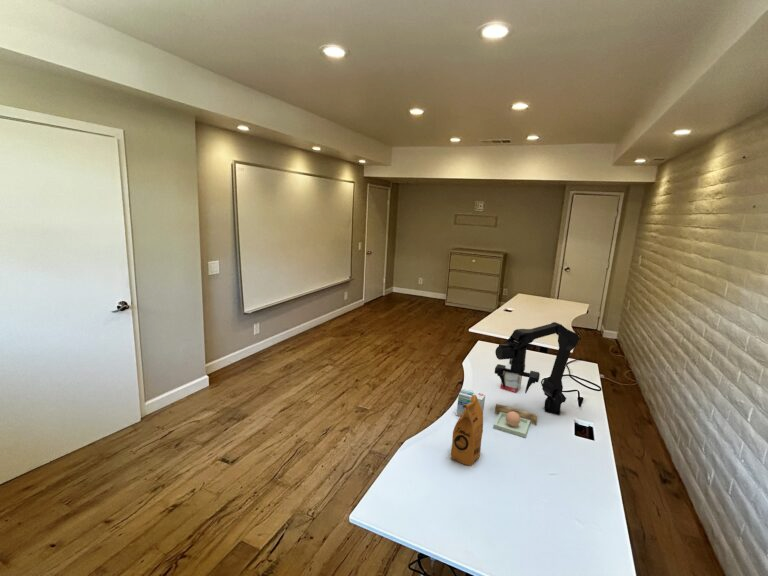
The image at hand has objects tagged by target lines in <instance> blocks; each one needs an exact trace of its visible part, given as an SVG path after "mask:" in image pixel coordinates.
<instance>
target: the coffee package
mask: <svg viewBox="0 0 768 576" xmlns="http://www.w3.org/2000/svg"><path fill="white" fill-rule="evenodd" d="M463 408H466V409H465V410H464V411H463V413H462V415H461V417H460V416H459V418H458V420H457V422H456V423H455V425H454V429H453V431H452V443H451V450H450V457H451V459H452V460H453V461H457V462H458V463H462V464H463V465H465V466H468V467H469V466H470V467H471V466H472V465H473V464H474V463H475V461H476V460H478V459H479V457H480V454H481V448H482V440H483V439H482V438H483V437H482V436H483V433H484V411H483V412H482V409H481V406H480V404H479V401H478V399H477V396H476V395H473V396H472V397H471V403H470V404H466V405H464V406H463Z"/></svg>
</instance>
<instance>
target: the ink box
mask: <svg viewBox="0 0 768 576" xmlns="http://www.w3.org/2000/svg"><path fill="white" fill-rule="evenodd" d="M505 366H506V368H507V369H511V364H509V363H507V364H506V365H505ZM505 378H506V385H505V389H504V387H503V384H502V381H501V380H500V385H499V386H500V387H499V389H501V390H504V391H507V392H511V393H514V394H516V393H517V392H518V391H519V390H520V389H521V387H522V381H523V376H520V375H515V374H510V373H506V376H505Z"/></svg>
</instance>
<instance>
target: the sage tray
mask: <svg viewBox="0 0 768 576" xmlns="http://www.w3.org/2000/svg"><path fill="white" fill-rule="evenodd" d="M506 415H507V414H506V413H503V412H500V413H499V414H497V417H496V419H495V421H494V423H493V427H492V428H493V429H495V430H497V431H502V432H504V433H507V434H511V435H514V436H518V437H521V438H524V439H526V438H527V434H528V431H529V428H530V425H531V423H530V420H528V419H524V418H521V417H520V423H519V424H518V425H517V426H511V425H509V424H508V423H507V421H506Z"/></svg>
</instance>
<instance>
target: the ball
mask: <svg viewBox="0 0 768 576" xmlns="http://www.w3.org/2000/svg"><path fill="white" fill-rule="evenodd" d="M506 421H507V423H508V424H509V425H511V426H517V425H518V424H519V423H520V416H519V414H518V413H516V412H514V411H511V412H508V413H507V415H506Z"/></svg>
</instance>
